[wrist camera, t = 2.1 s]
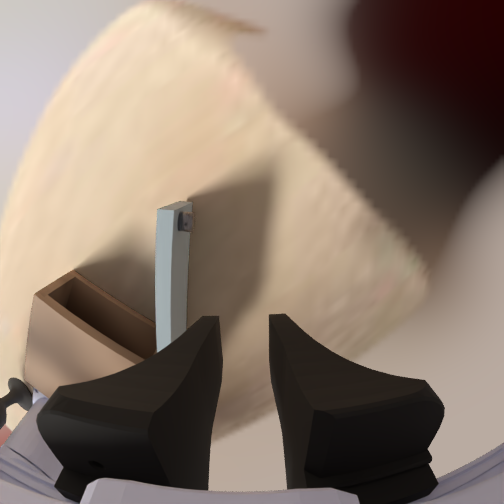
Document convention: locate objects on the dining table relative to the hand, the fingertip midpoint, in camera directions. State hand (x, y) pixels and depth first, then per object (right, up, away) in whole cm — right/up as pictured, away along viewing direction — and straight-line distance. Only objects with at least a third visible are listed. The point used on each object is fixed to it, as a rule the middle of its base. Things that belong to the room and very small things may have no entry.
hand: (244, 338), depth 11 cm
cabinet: (-11, -4, +9) cm, 15 cm away
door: (-4, +2, +8) cm, 9 cm away
